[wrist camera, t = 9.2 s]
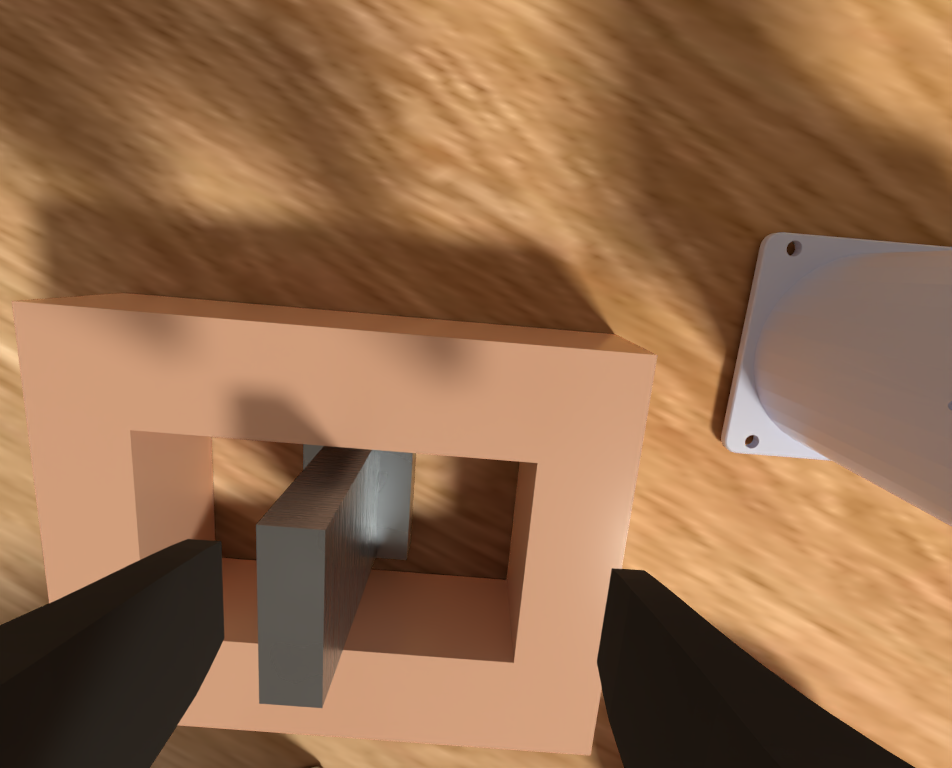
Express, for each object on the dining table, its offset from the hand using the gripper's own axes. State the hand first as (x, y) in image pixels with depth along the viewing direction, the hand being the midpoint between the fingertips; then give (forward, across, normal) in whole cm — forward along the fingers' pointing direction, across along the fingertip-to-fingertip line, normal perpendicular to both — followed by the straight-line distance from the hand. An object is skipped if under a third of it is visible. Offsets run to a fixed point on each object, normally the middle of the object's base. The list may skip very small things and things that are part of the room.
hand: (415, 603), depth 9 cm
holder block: (+10, +3, +3) cm, 11 cm away
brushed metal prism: (+10, +3, +3) cm, 11 cm away
